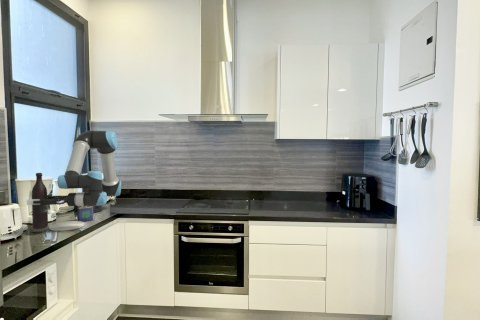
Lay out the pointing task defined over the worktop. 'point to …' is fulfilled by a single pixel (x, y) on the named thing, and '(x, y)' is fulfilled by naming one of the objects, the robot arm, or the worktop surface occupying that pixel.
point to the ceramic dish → (66, 226)
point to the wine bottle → (39, 210)
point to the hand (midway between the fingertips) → (30, 200)
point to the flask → (85, 214)
